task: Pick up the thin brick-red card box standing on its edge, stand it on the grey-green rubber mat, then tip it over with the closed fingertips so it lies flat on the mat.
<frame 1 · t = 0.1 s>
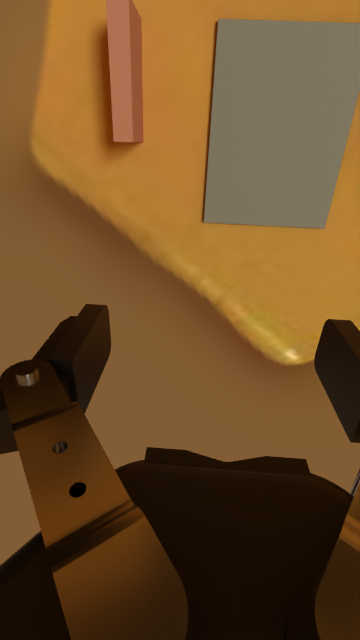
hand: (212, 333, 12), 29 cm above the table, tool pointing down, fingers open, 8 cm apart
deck: (133, 84, 33), on the table
mat: (276, 136, 34), on the table
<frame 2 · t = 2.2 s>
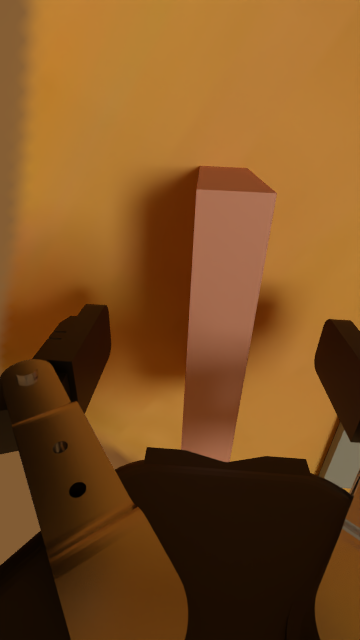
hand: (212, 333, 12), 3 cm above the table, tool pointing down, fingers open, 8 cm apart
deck: (212, 285, 15), on the table
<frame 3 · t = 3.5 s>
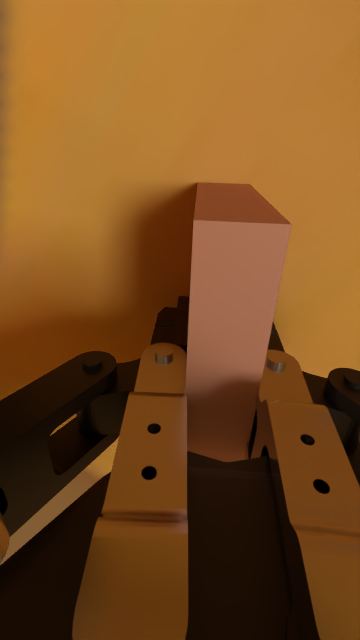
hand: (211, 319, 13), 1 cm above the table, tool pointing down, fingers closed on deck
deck: (212, 311, 14), on the table, touching gripper
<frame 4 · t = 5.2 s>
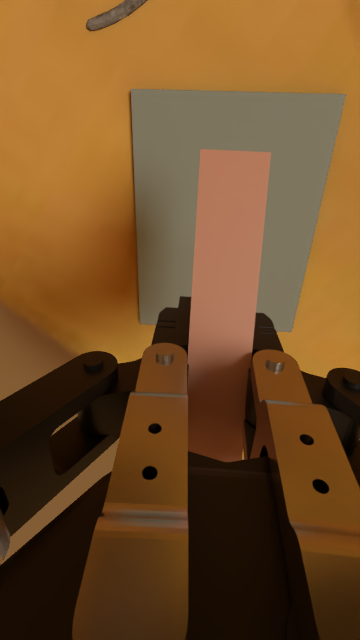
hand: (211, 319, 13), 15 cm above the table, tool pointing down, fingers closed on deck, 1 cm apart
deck: (210, 311, 15), point 13 cm above the table, tilted 20°, touching gripper
mat: (223, 228, 26), on the table
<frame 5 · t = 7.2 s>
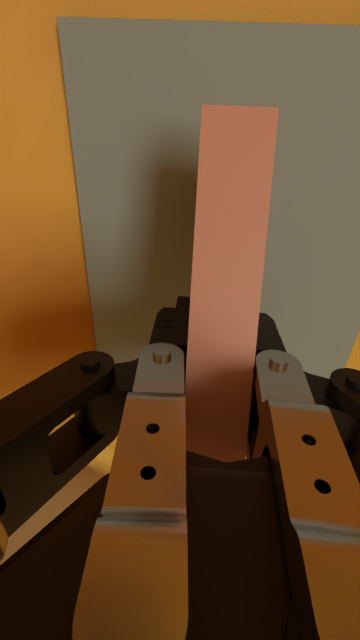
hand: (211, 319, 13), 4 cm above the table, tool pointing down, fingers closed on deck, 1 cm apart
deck: (211, 296, 14), point 2 cm above the table, tilted 21°, touching gripper
mat: (228, 266, 16), on the table
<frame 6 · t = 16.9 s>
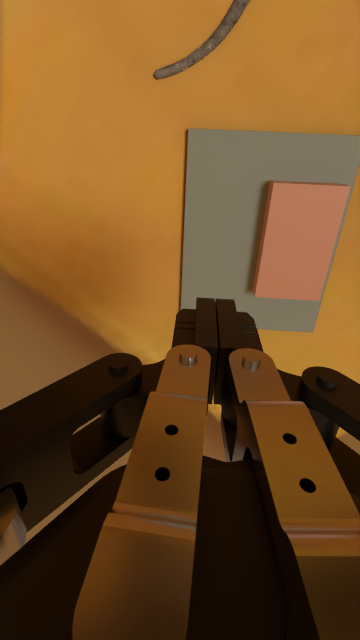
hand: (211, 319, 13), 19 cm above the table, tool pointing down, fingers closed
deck: (261, 242, 29), point 1 cm above the table, tilted 90°, touching mat
mat: (258, 242, 30), on the table
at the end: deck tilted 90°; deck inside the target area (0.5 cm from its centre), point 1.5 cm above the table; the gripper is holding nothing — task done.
